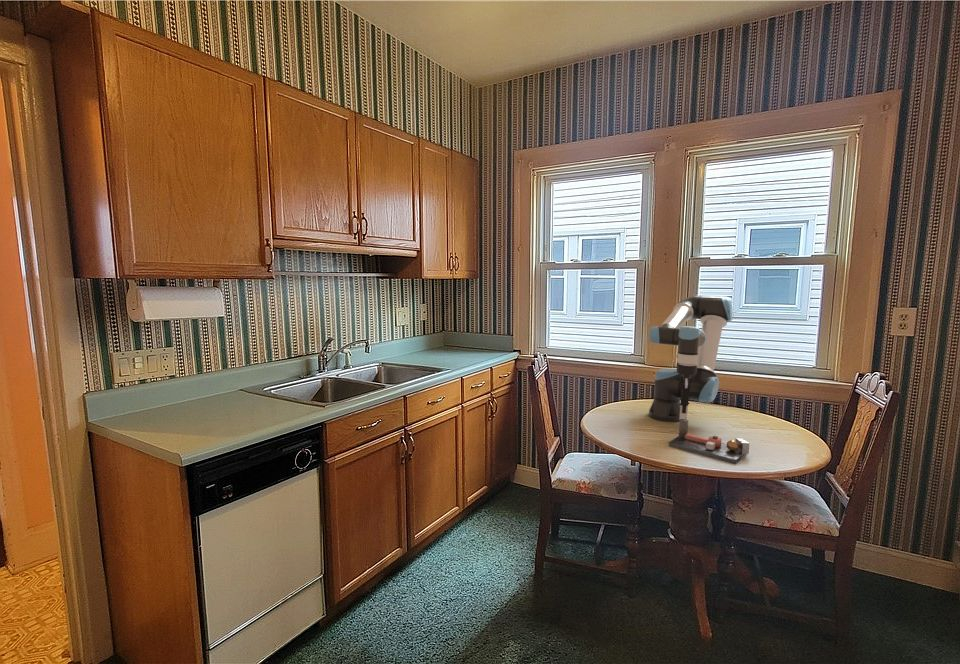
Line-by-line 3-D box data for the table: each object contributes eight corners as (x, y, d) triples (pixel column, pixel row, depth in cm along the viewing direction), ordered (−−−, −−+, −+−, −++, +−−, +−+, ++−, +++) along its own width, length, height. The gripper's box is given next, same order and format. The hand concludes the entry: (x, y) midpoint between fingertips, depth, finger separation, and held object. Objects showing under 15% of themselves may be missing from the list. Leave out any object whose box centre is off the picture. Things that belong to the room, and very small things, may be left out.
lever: (672, 439, 180) (673, 422, 179) (680, 434, 186) (682, 417, 185) (715, 451, 169) (716, 432, 168) (722, 444, 175) (723, 427, 174)
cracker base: (668, 446, 179) (669, 432, 178) (682, 437, 188) (683, 424, 188) (740, 465, 161) (741, 450, 160) (751, 454, 171) (752, 440, 170)
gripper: (676, 360, 192) (672, 414, 195) (677, 366, 180) (673, 423, 183) (696, 362, 189) (692, 416, 192) (698, 367, 177) (693, 425, 180)
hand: (683, 419), depth 187 cm, fingers closed
